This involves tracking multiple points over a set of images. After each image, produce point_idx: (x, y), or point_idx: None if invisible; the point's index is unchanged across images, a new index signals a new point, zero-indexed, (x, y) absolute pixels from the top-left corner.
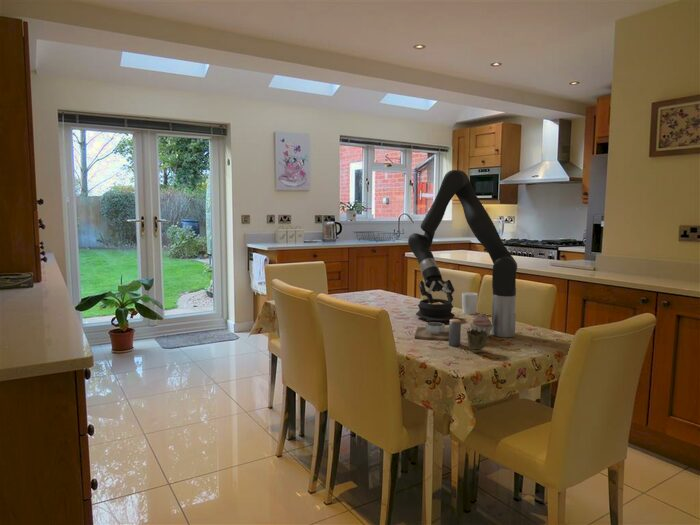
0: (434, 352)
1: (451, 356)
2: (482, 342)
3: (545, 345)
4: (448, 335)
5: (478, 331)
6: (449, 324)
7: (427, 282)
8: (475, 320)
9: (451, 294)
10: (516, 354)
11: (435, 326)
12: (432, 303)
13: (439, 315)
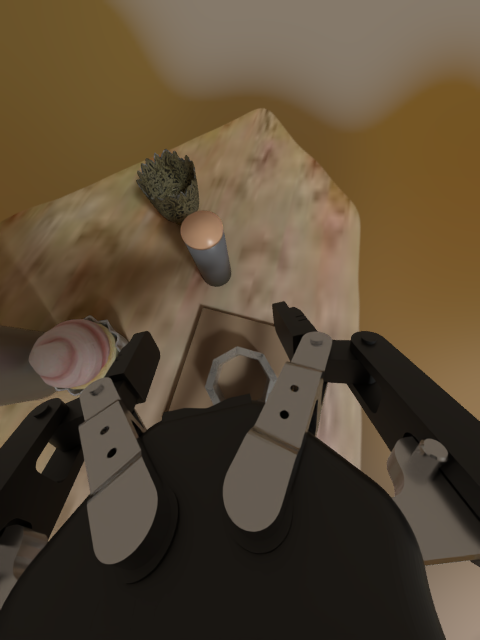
0: (280, 221)
1: (249, 196)
2: (170, 176)
3: (2, 261)
4: (210, 341)
5: (115, 331)
6: (224, 238)
7: (387, 508)
8: (94, 340)
9: (105, 375)
10: (107, 204)
11: (248, 351)
12: (274, 323)
13: None
